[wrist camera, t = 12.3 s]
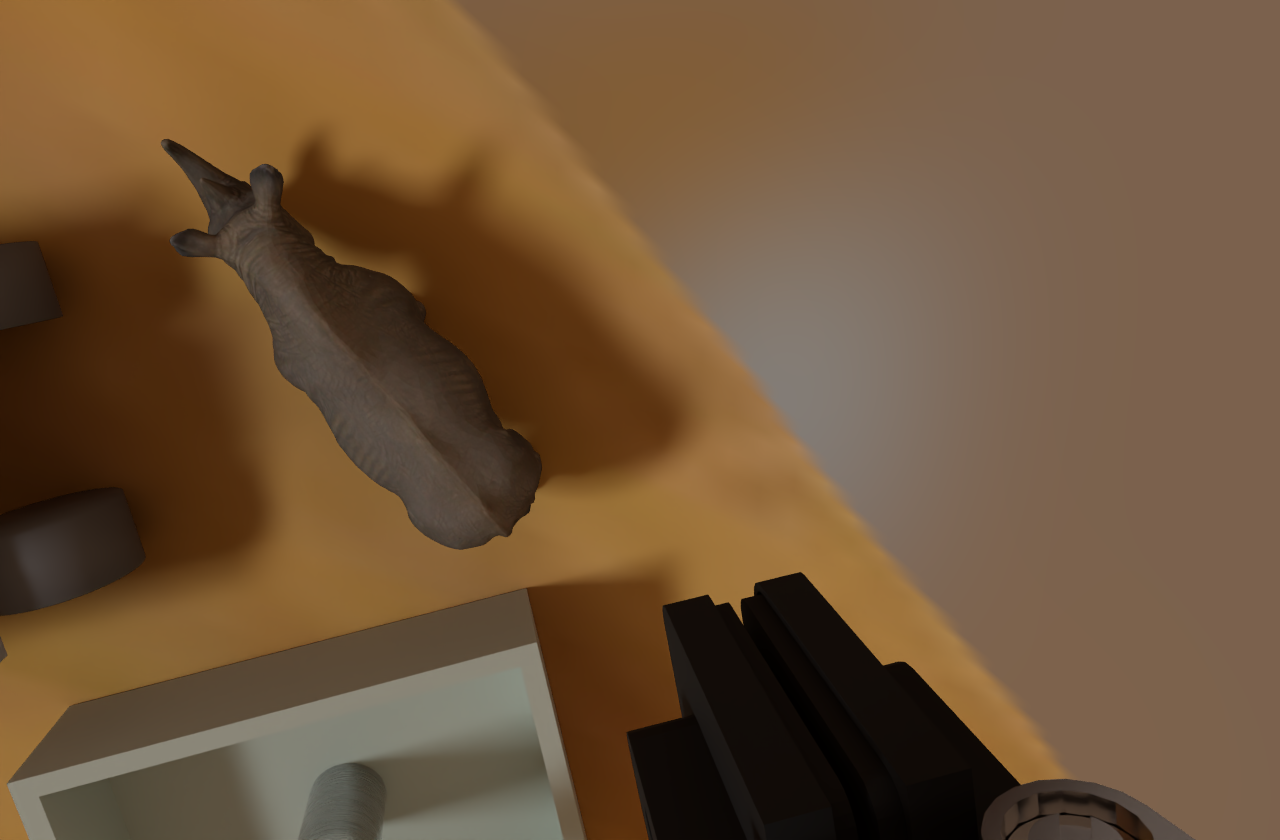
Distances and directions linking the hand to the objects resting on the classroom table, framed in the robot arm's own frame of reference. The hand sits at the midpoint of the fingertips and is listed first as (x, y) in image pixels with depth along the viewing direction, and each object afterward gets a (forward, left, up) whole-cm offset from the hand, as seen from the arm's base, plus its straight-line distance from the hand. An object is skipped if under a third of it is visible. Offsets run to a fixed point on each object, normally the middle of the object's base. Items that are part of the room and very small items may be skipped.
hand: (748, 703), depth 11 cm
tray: (-11, +10, -19) cm, 24 cm away
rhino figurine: (+3, +5, -20) cm, 21 cm away
